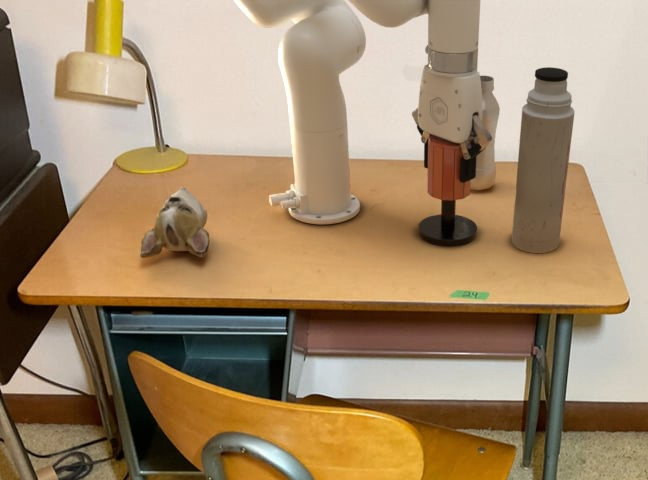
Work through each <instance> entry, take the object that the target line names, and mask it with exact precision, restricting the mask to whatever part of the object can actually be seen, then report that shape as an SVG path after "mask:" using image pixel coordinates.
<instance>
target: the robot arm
mask: <svg viewBox="0 0 648 480" xmlns="http://www.w3.org/2000/svg"><path fill="white" fill-rule="evenodd" d="M347 1H348V2H349V3H350V4H351V5H352V6H354V8H355V9H357V10H358V11H359V12H360V13H361V14H362V15H363V16H364V17H366V18H367V19H368V20H370V21H371V22H373V23H375V24H376V25H379V26H381V27H384V28H399V27H401V26H403V25H405V24H406V23H408V22H410V21H411V20H413V19H416V18H418V17H422V16H424V15H427V45H426V46H425V48H424V49H425V50H424V51H425V52H424V53H425V54H426V55H427V64H425V65H424V66H423V70H422V74H421V79H420V86H419V93H418V106H417V108H416V109H414V110H413V111H412V112H411V116H412V118H413V121H414V123H415V125H416V129H417V131H418V132H419V134H420V136H421V137H420V141H421V143H422V144H423V148H424V149H423V168H425V169H427V170H428V137H429V136H430V135H431V134H432V135H435V136H437V137H440V138H443V139H446V140H448V141H451V142H454V143H459V144H460V147H461V150H462V153H463V156H464V157H463V158H461V159H460V179H459V180H460V182H462V183H465V182H467V181H470V180H472V179H474V178H475V176H476V158H477V156H478V155H480V153H481V152H482V151H483V150H484V149H485V148H486V146H487V145H488V144H489V143H490V142H491V141H492V136H491V134H490V133H489V131H488V130H487V128H486V127H485V126H484V124H483V123H482V90H481V80H480V76H481V73H480V71H478V62H479V61H478V60H479V38H480V18H481V17H480V16H481V0H347ZM233 2H234V3H235V4H236V6H238V8H239V9H240V10H241V11H242V13H244V14H245V16H246V17H247V18H248V19H249V20H250V21H251V22H252V23H254V24H255V25H256V26H258V27H260V28H263V29H272V28H277V27H279V26H281V25H284V24H286V23H288V22H290V21H292V23H294V24H293V25H292V26H290V27H289V28H288V29H287V30H286V32H285V33H284V34H283V35H282V37H281V40H280V42H279V45H278V50H277V51H278V52H277V58H278V65H279V69H280V73H281V77H282V81H283V85H284V89H285V90H284V91H285V94H286V102H287V110H288V119H289V120H288V121H289V129H290V130H289V131H290V139H291V152H292V163H293V164H292V165H293V174H294V183H290V184H289V185H290V189H288V190H285V192H283V193H273V194H269V195H268V201H269V204H270V206H271V207H275V206H280V208H281V210H286V209H288V213H289V215H290V216H291V217H292V218H294V219H295V220H297V221H299V222H302V223H306V224H311V225H333V224H334V225H335V224H339V223H343V222H346V221H348V220H351V219H353V218H354V217H356V216H357V215H358V214H359V213H360V211H361V203H360V200H359V198H358V197H356V196H355V195H353V194H352V193H351V177H350V176H351V175H350V151H349V133H348V131H349V130H348V113H347V112H348V111H347V102H346V99H345V95H344V92H343V89H342V86H341V81H340V75H341V74H342V73H344V72H345V71H346V70H348V69H350V68H351V67H353V66H355V65H356V64H357V63H358V62H359V61H360V60H361V58H362V57H363V55H364V54H365V51H366V45H367V38H366V37H367V36H366V32H365V29H364V26H363V24H362V22H361V20H360V18H359V17H358V16H357V14H356V13H355V12H354V10H353V9H352V7H350V6H349V4H348V3H347V2H346V0H233ZM476 137H479V140H478V141H477V139H476ZM467 141H469V142H470V145H471V148H470V149H469V147H468V144H467Z"/></svg>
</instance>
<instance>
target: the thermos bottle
mask: <svg viewBox="0 0 648 480" xmlns="http://www.w3.org/2000/svg"><path fill="white" fill-rule="evenodd" d="M534 78H535V80H534V88H532V89H530V90H529V91H528V92H527V97H526V103H525V104H523V106H522V108H521V120H520V132H519V145H518V156H517V170H516V183H515V185H516V186H515V200H514V206H513V218H512V232H511V243H512V245H513V246H514V247H515V248H517V249H518V250H521V251H522V252H527V253H532V254H545V253H549V252H553V251H555V250H557V248H558V247H559V245H560V238H561V229H562V222H563V213H564V204H565V195H566V188H567V187H566V185H567V178H568V170H569V162H570V154H571V146H572V137H573V129H574V121H575V108H573V107H572V105H571V104H572V103H573V100H572V94H571V92H569V91H568V81H567V80H568V78H569V72H568V71H567V70H566V69H563V68H560V67H553V66H552V67H551V66H550V67H540V68H537V69H535V70H534Z"/></svg>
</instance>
